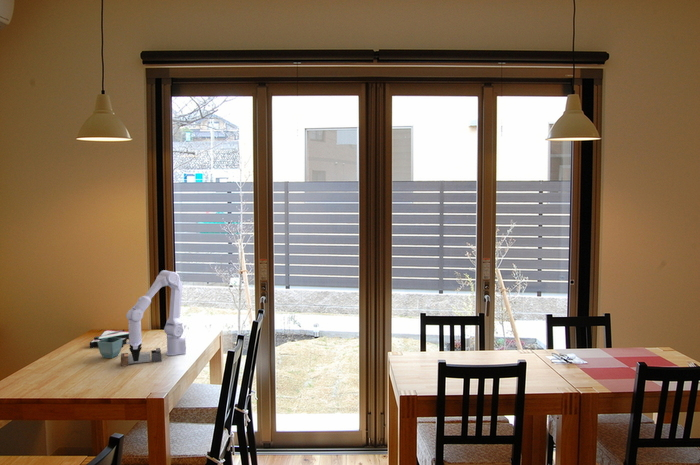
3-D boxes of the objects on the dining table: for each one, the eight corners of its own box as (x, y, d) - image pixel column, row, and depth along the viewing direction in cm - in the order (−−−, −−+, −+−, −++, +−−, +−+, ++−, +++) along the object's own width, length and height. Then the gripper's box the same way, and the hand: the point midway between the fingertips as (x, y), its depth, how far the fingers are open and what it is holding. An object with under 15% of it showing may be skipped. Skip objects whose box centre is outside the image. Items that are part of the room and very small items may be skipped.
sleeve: (160, 357, 272) (160, 347, 271) (161, 361, 266) (161, 350, 266) (151, 359, 270) (151, 348, 270) (151, 362, 264) (151, 351, 264)
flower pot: (112, 360, 269) (112, 342, 268) (97, 359, 270) (96, 341, 270) (123, 354, 277) (123, 338, 277) (108, 353, 279) (108, 337, 278)
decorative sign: (87, 344, 286) (101, 330, 315) (87, 350, 286) (101, 336, 315) (123, 342, 290) (133, 328, 319) (123, 348, 290) (133, 334, 319)
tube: (150, 359, 269) (149, 351, 268) (150, 361, 265) (149, 353, 265) (124, 362, 264) (124, 354, 264) (124, 364, 261) (123, 356, 260)
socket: (128, 361, 266) (128, 352, 266) (128, 365, 260) (127, 356, 260) (121, 362, 265) (121, 353, 265) (121, 366, 259) (120, 357, 258)
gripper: (126, 330, 269) (127, 356, 270) (126, 337, 255) (127, 365, 256) (141, 328, 271) (142, 354, 272) (141, 335, 258) (142, 363, 259)
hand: (136, 359), depth 264 cm, fingers closed on tube, 4 cm apart
